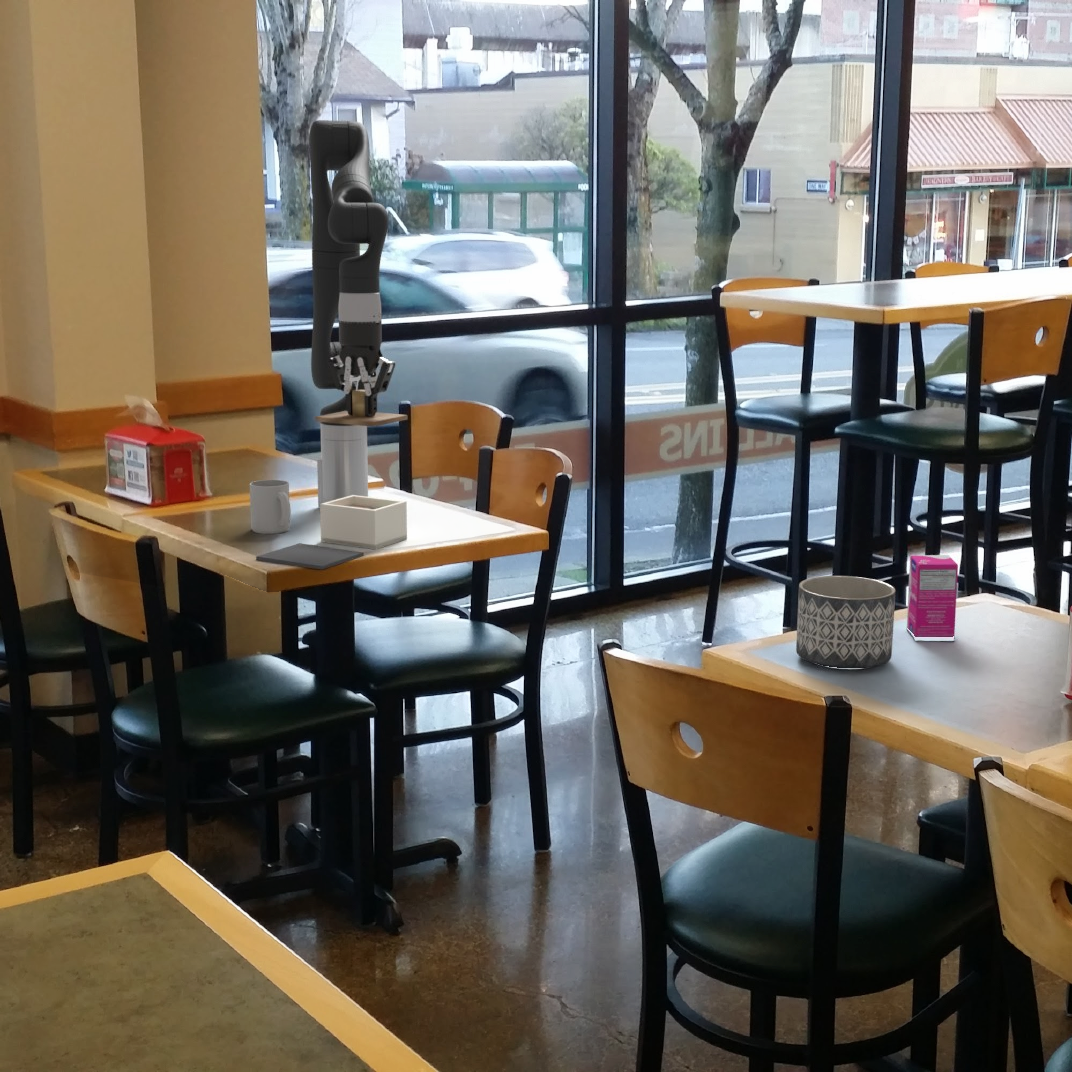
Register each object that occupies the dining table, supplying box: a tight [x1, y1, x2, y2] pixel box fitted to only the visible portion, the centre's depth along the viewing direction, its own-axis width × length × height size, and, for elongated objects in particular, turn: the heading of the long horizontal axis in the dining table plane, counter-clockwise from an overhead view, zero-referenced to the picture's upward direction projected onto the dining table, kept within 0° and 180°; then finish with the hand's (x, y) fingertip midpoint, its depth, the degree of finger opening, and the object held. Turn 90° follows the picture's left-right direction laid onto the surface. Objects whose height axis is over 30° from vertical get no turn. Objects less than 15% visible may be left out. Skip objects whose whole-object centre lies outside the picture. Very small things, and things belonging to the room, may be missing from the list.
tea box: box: [319, 495, 408, 550], centre depth 274 cm, size 12×10×7 cm
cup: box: [249, 479, 292, 535], centre depth 281 cm, size 7×10×9 cm
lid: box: [314, 390, 409, 428], centre depth 270 cm, size 13×11×5 cm
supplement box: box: [906, 554, 959, 637], centre depth 215 cm, size 6×6×12 cm
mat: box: [255, 542, 365, 570], centre depth 261 cm, size 14×12×1 cm
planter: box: [795, 575, 896, 669], centre depth 203 cm, size 13×13×10 cm
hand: (361, 414), depth 270 cm, fingers closed on lid, 3 cm apart
